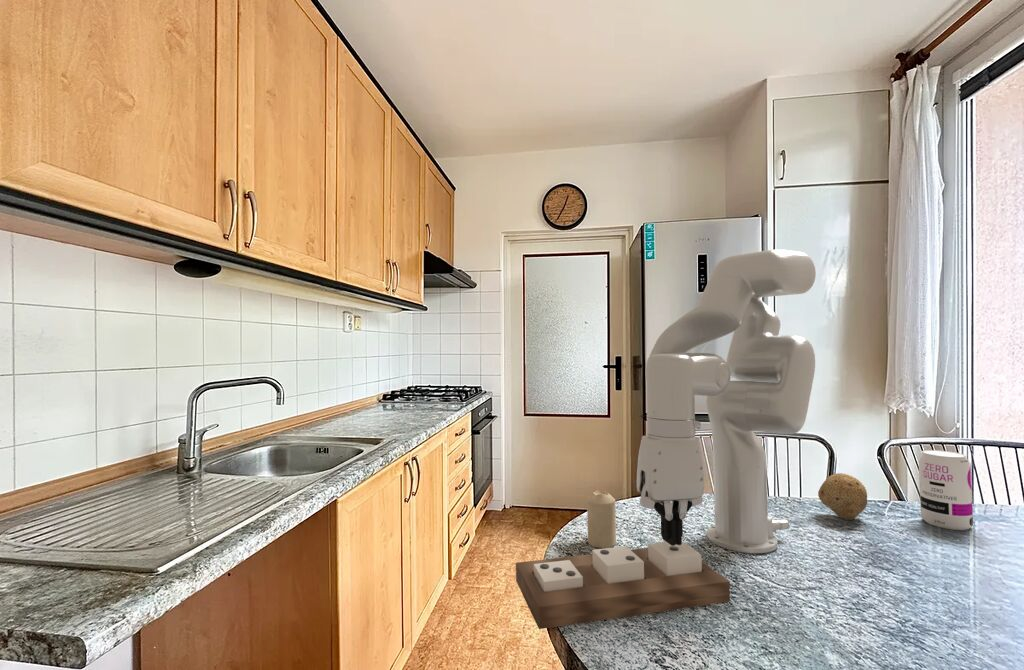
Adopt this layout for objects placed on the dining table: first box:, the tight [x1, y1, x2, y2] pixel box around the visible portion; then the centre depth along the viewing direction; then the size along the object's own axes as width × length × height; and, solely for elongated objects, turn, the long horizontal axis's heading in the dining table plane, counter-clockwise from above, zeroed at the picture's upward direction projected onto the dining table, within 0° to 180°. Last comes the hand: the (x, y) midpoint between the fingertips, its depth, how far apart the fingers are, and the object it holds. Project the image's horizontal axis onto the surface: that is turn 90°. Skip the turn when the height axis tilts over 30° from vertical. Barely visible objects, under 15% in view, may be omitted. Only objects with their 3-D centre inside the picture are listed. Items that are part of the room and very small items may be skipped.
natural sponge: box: [817, 472, 868, 521], centre depth 105 cm, size 9×9×10 cm
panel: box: [515, 547, 731, 630], centre depth 75 cm, size 30×14×3 cm, turn 102°
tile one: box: [647, 541, 703, 576], centre depth 77 cm, size 6×6×3 cm
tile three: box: [534, 560, 583, 592], centre depth 73 cm, size 6×6×3 cm
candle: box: [586, 489, 617, 549], centre depth 94 cm, size 6×6×10 cm
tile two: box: [591, 545, 644, 584], centre depth 75 cm, size 6×6×3 cm
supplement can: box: [918, 449, 974, 531], centre depth 101 cm, size 8×8×15 cm
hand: (671, 541), depth 77 cm, fingers closed
